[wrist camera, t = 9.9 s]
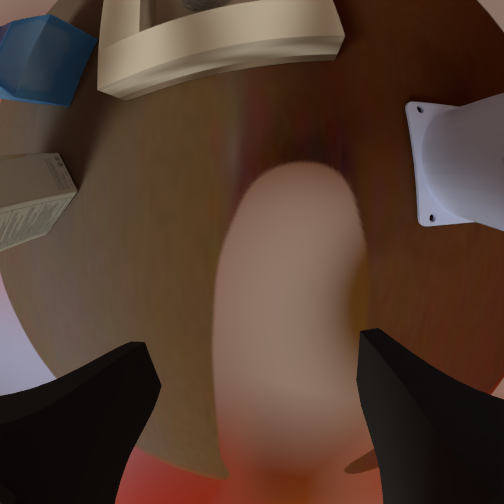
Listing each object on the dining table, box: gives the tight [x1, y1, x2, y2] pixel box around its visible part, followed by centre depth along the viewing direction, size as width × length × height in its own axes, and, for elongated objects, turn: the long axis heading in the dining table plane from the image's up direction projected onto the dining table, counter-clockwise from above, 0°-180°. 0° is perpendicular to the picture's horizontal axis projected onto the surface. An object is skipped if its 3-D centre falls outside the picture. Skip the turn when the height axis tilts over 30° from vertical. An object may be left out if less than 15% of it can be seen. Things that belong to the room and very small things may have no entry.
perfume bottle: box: [0, 14, 98, 107], centre depth 9 cm, size 6×6×12 cm
